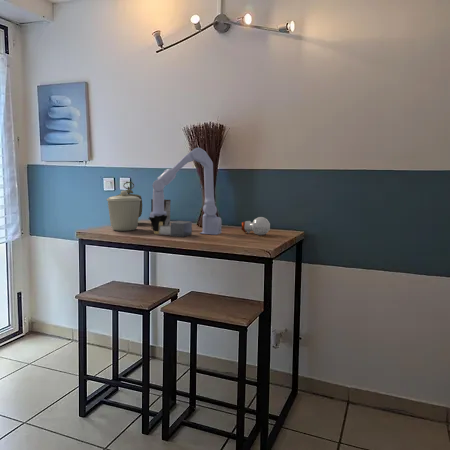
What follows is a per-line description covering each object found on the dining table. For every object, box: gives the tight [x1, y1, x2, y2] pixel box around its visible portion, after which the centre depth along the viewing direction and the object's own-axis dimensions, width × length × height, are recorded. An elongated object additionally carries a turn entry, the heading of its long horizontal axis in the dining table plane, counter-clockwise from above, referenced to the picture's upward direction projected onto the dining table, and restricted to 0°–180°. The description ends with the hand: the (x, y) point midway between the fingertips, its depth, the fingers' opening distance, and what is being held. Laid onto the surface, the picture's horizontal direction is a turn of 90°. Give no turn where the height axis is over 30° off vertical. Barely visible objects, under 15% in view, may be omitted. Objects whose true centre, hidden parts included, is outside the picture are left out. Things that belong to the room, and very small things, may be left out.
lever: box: [153, 221, 171, 236], centre depth 214 cm, size 11×5×6 cm, turn 72°
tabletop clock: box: [115, 181, 143, 218], centre depth 253 cm, size 14×9×25 cm, turn 130°
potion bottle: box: [241, 216, 271, 236], centre depth 219 cm, size 9×10×15 cm
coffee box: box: [150, 198, 172, 229], centre depth 236 cm, size 9×6×16 cm
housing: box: [170, 220, 193, 238], centre depth 211 cm, size 7×10×6 cm
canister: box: [106, 190, 141, 232], centre depth 226 cm, size 18×18×21 cm
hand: (158, 230), depth 216 cm, fingers closed on lever, 5 cm apart
